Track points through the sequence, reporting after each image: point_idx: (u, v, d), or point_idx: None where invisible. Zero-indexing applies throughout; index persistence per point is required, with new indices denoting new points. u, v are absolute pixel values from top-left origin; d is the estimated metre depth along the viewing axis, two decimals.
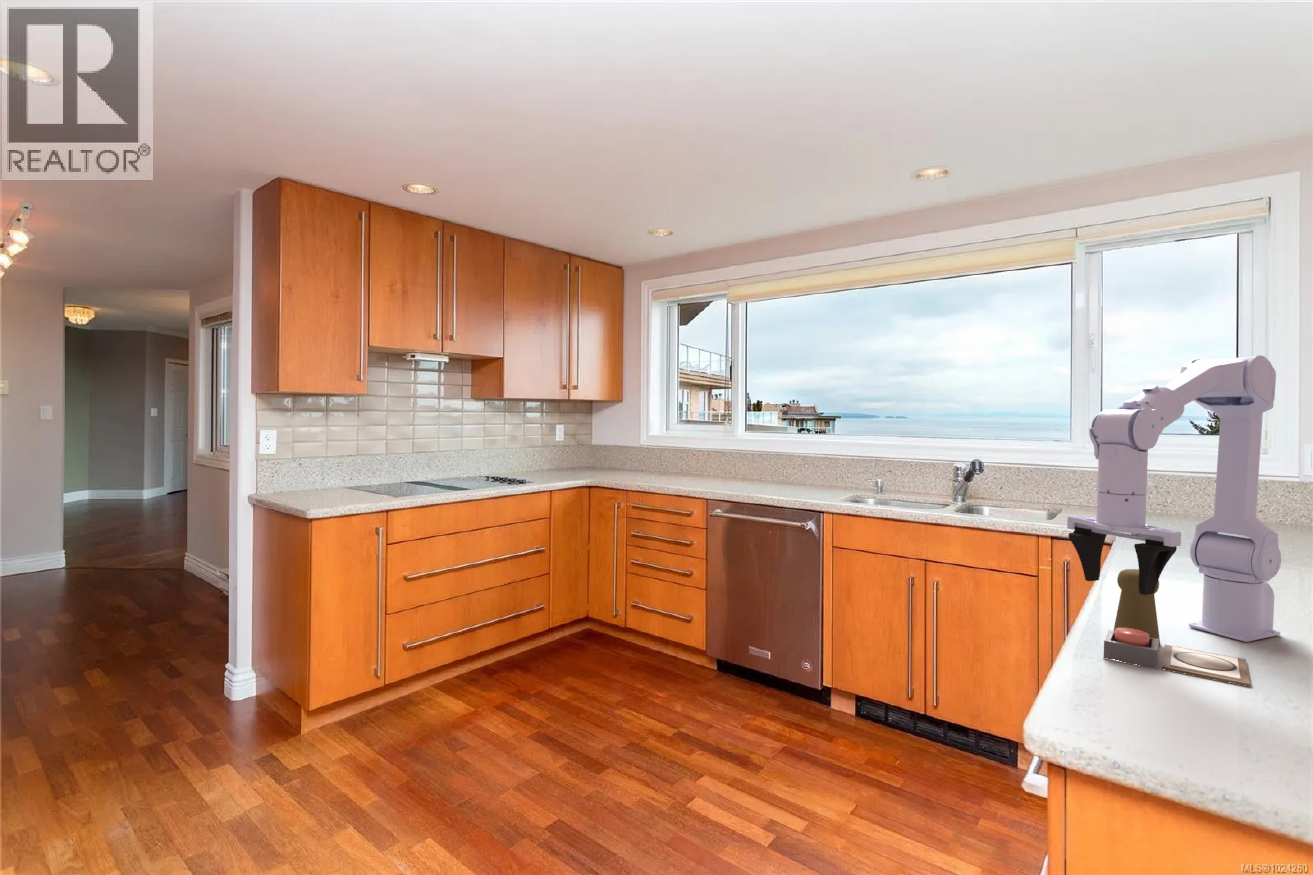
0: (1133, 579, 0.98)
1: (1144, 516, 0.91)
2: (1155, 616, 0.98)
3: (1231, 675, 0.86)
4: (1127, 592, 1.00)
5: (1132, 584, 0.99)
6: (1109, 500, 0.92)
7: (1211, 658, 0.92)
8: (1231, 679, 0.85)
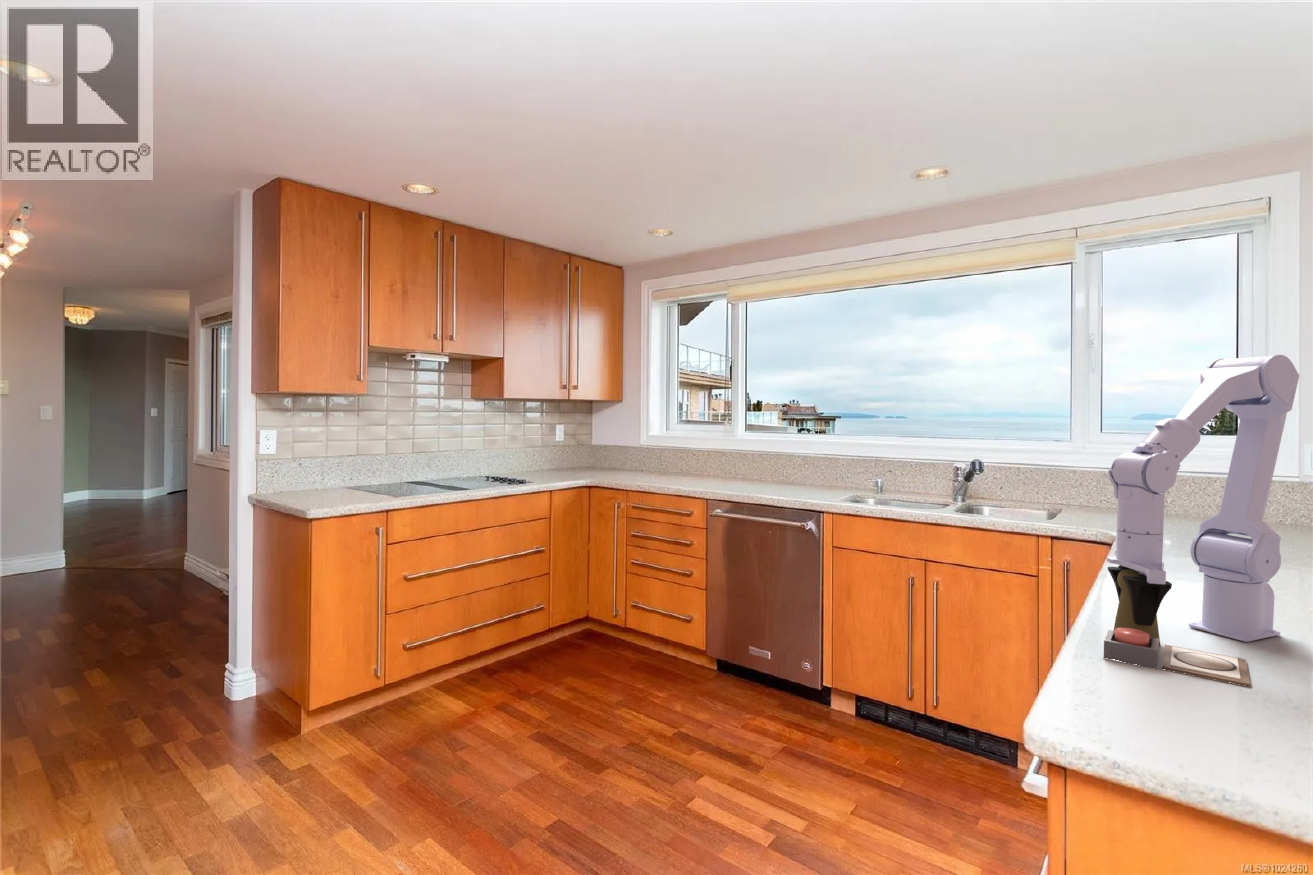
0: None
1: (1151, 555, 0.97)
2: None
3: (1231, 675, 0.86)
4: (1127, 592, 1.00)
5: None
6: (1118, 536, 1.01)
7: (1211, 658, 0.92)
8: (1231, 679, 0.85)
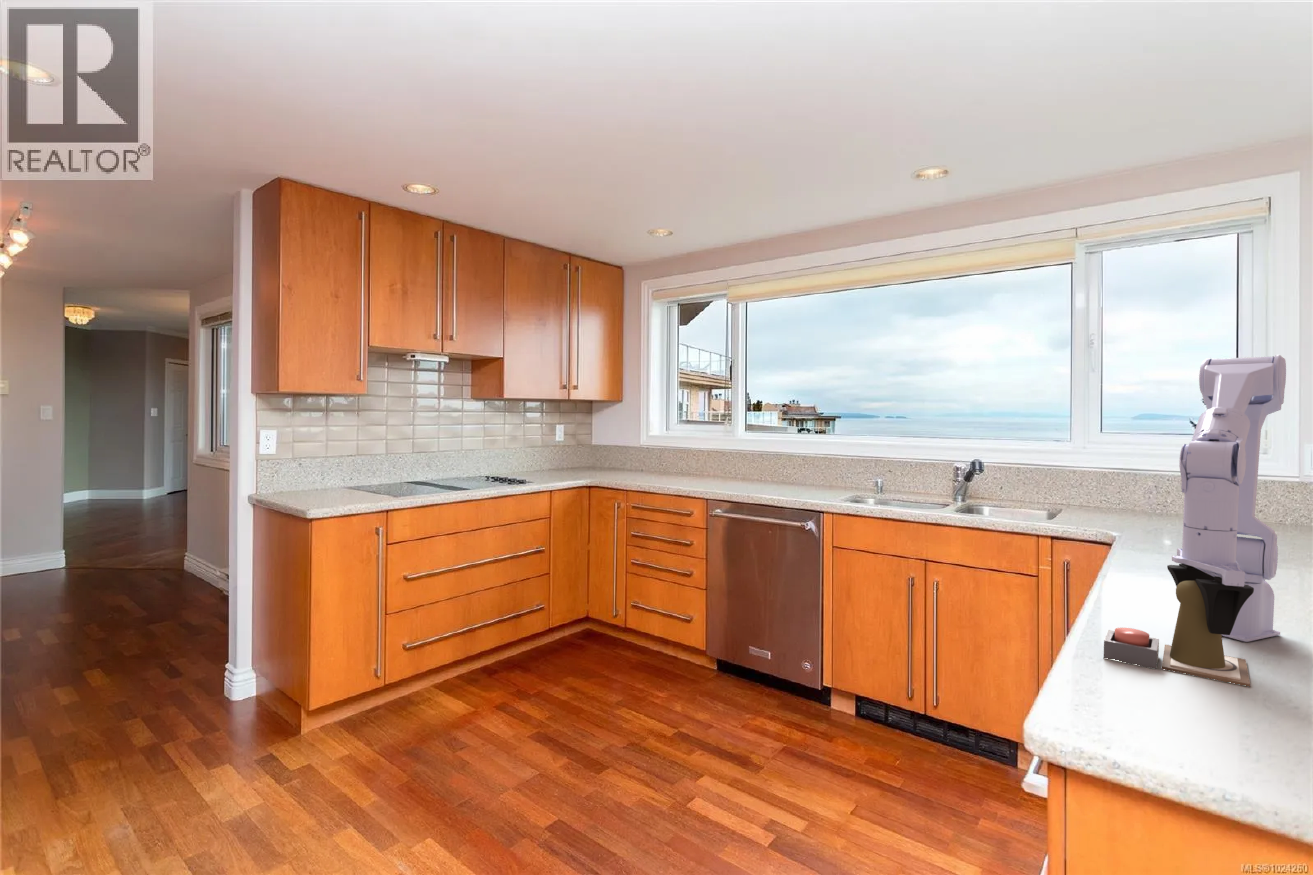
0: (1195, 592, 0.89)
1: (1225, 553, 0.87)
2: None
3: (1231, 675, 0.86)
4: (1189, 606, 0.90)
5: (1194, 598, 0.89)
6: (1185, 533, 0.91)
7: None
8: (1231, 679, 0.85)
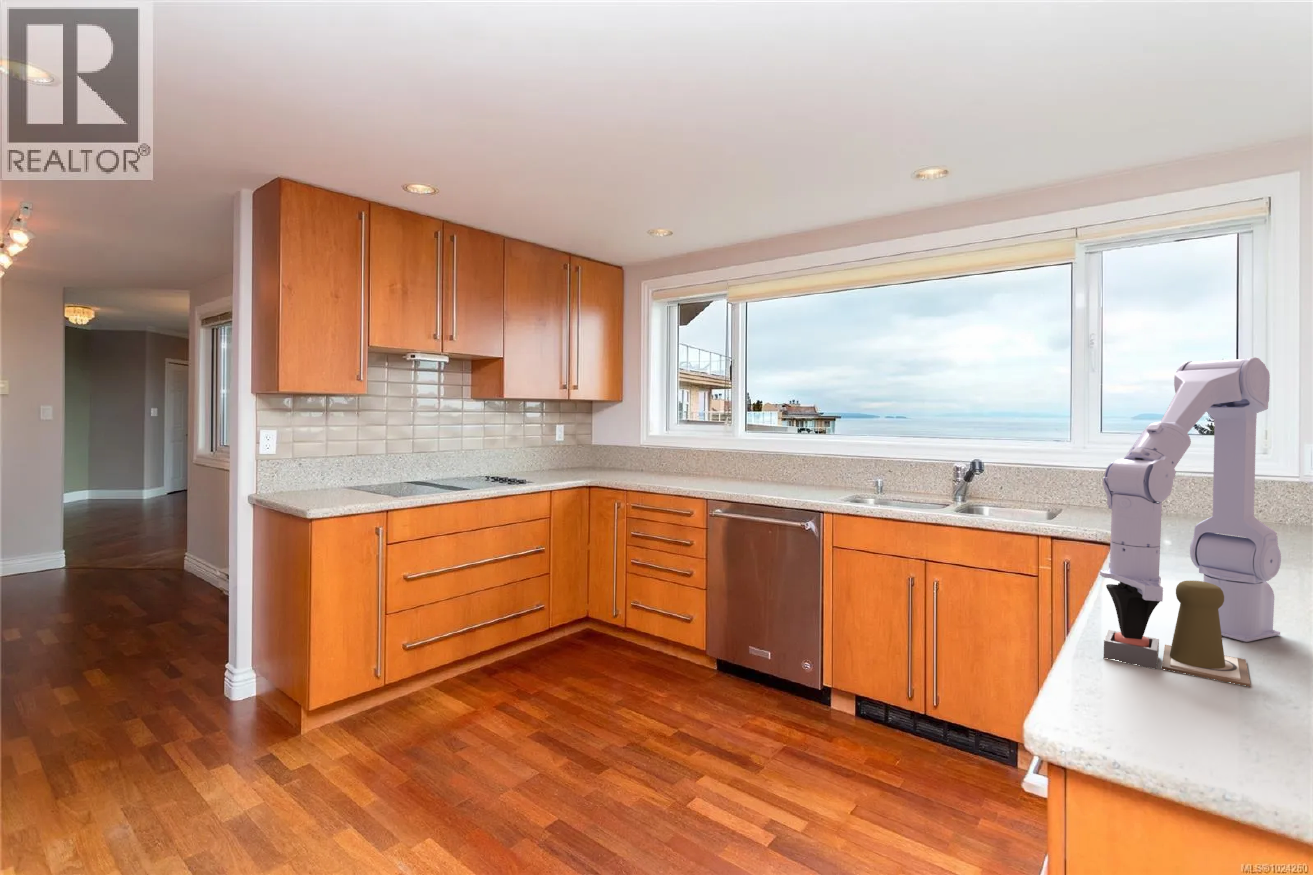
0: (1195, 592, 0.89)
1: (1147, 569, 0.90)
2: (1220, 633, 0.89)
3: (1231, 675, 0.86)
4: (1189, 606, 0.90)
5: (1194, 598, 0.89)
6: (1112, 548, 0.94)
7: None
8: (1231, 679, 0.85)
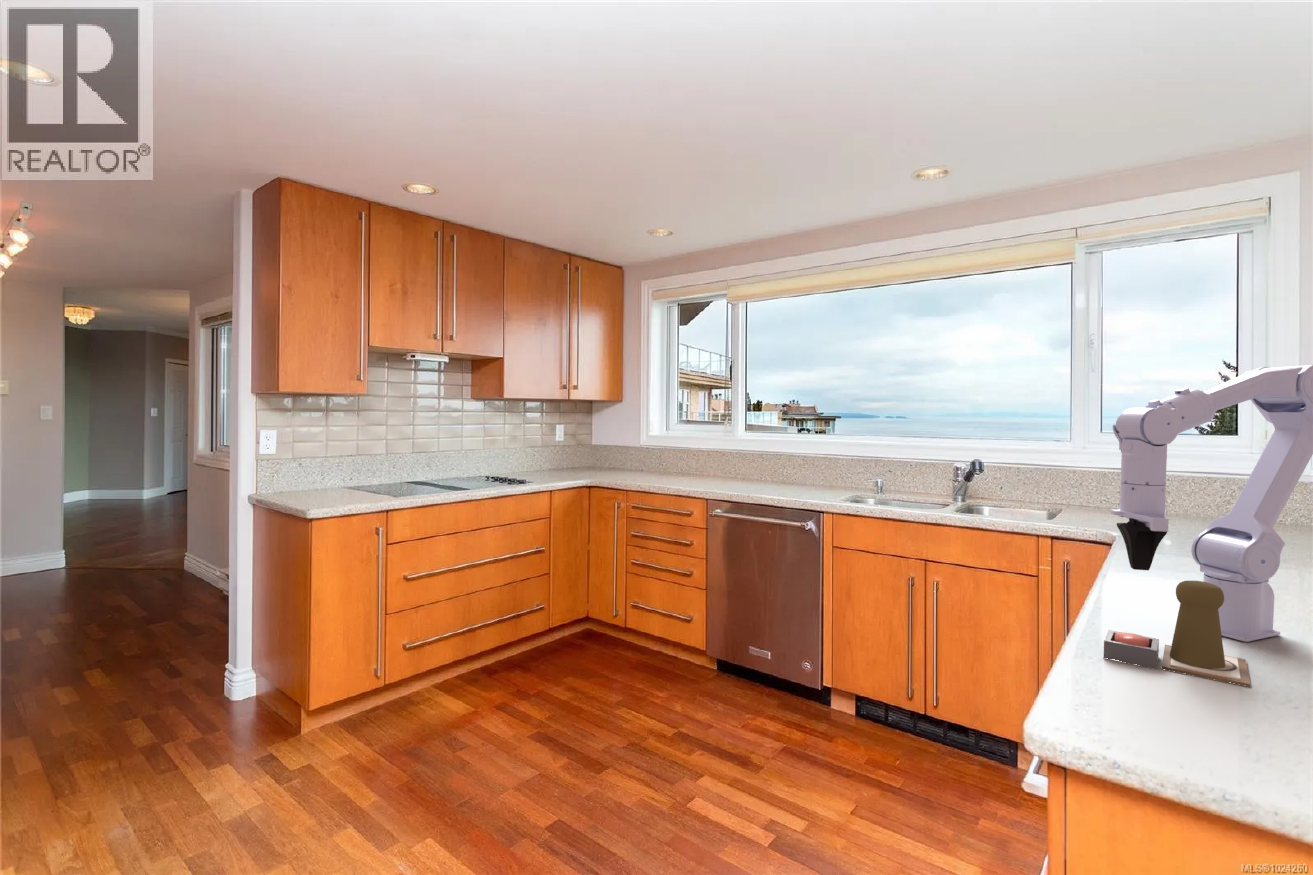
0: (1195, 592, 0.89)
1: (1154, 505, 1.00)
2: (1220, 633, 0.89)
3: (1231, 675, 0.86)
4: (1189, 606, 0.90)
5: (1194, 598, 0.89)
6: (1122, 489, 1.03)
7: None
8: (1231, 679, 0.85)
